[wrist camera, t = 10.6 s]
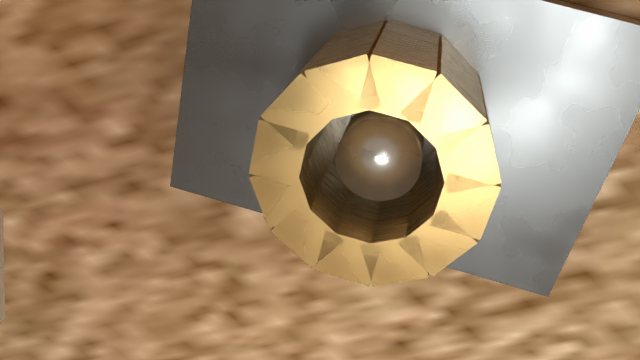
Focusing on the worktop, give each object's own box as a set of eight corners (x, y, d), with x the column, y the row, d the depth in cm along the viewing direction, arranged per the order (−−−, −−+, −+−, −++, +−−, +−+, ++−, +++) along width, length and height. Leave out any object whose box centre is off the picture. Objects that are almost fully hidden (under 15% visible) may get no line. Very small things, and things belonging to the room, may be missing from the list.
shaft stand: (186, 169, 30) (124, 233, 24) (220, -87, 25) (151, -84, 19) (541, 272, 29) (566, 365, 23) (658, 24, 23) (728, 64, 18)
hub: (277, 178, 27) (235, 246, 22) (314, 0, 23) (275, 28, 18) (450, 228, 26) (451, 310, 21) (515, 52, 23) (537, 97, 18)
